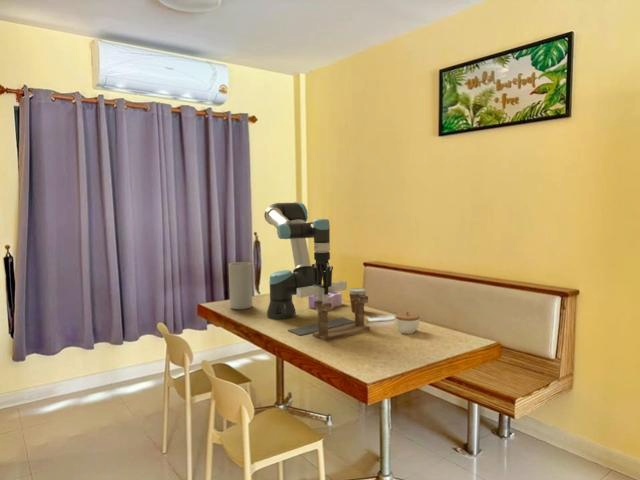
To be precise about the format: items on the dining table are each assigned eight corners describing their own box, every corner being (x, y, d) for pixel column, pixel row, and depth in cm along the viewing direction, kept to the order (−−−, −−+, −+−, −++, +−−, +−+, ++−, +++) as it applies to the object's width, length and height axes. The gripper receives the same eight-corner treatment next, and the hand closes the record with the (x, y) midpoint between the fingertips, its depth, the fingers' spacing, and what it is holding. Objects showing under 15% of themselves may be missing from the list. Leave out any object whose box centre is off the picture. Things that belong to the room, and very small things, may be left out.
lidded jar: (419, 335, 203) (419, 315, 202) (395, 334, 205) (395, 314, 204) (419, 329, 213) (419, 309, 212) (395, 328, 215) (396, 308, 214)
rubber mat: (287, 330, 213) (287, 329, 213) (342, 318, 234) (342, 317, 234) (300, 335, 205) (300, 334, 205) (356, 322, 226) (356, 321, 226)
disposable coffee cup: (352, 308, 253) (352, 287, 252) (368, 310, 249) (368, 288, 248) (346, 312, 245) (345, 290, 244) (362, 314, 241) (362, 292, 239)
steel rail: (296, 296, 210) (296, 288, 210) (342, 288, 227) (342, 280, 227) (300, 297, 208) (300, 289, 207) (346, 289, 225) (346, 281, 225)
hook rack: (312, 336, 204) (312, 301, 203) (355, 325, 220) (355, 292, 219) (326, 341, 196) (326, 305, 195) (370, 330, 212) (370, 296, 211)
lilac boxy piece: (332, 301, 271) (332, 290, 270) (346, 305, 261) (346, 293, 261) (305, 307, 258) (305, 295, 257) (319, 311, 248) (319, 299, 248)
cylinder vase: (226, 306, 261) (224, 263, 259) (244, 303, 269) (243, 261, 267) (237, 310, 252) (235, 266, 249) (256, 307, 260) (255, 263, 257)
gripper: (305, 250, 220) (306, 298, 222) (326, 253, 207) (327, 304, 209) (317, 249, 224) (318, 296, 226) (339, 252, 212) (339, 302, 214)
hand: (322, 300), depth 218 cm, fingers closed on steel rail, 3 cm apart
